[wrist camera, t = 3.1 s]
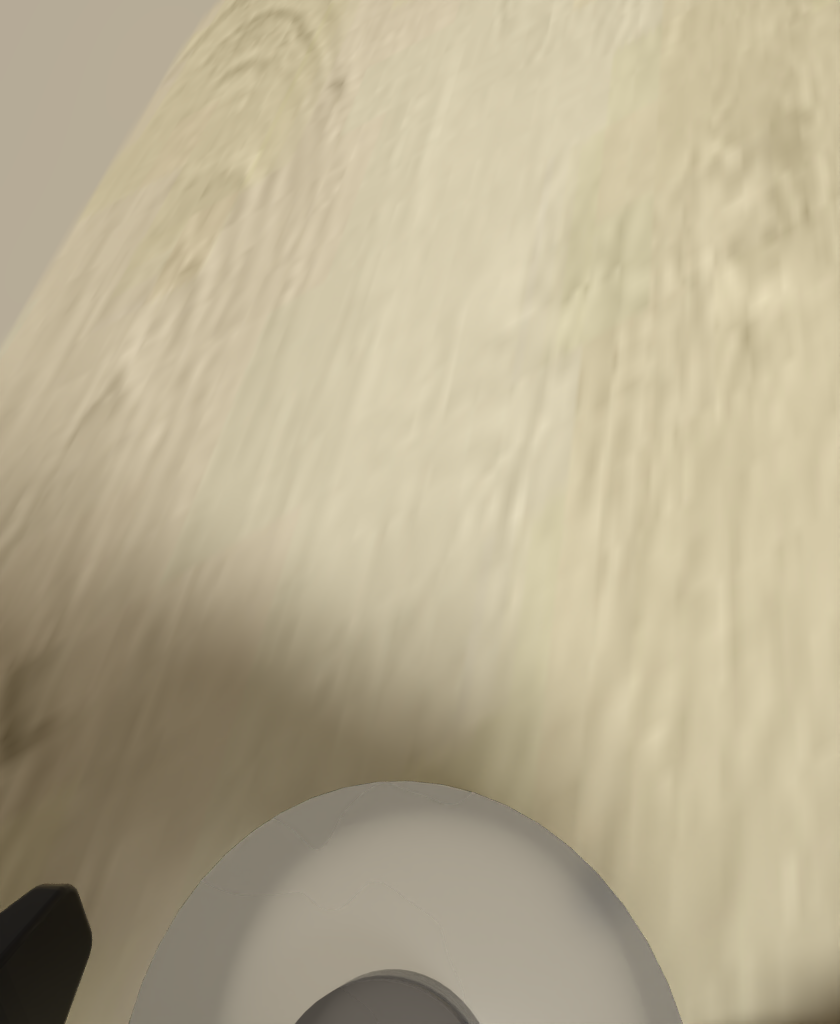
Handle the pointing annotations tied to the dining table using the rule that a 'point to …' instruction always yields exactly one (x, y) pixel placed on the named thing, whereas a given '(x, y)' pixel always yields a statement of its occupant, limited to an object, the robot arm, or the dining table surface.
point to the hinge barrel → (403, 923)
